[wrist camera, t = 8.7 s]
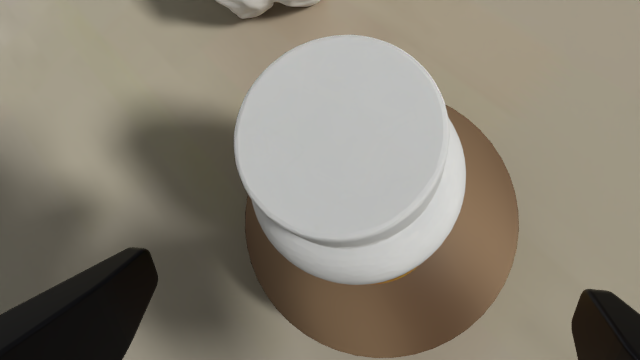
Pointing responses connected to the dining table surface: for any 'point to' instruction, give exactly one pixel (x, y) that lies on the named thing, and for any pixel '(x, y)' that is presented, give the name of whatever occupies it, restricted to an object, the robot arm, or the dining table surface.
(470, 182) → the plinth
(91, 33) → the dining table surface
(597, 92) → the dining table surface
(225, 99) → the dining table surface
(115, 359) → the robot arm
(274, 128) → the supplement bottle
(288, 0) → the white lumpy figure
